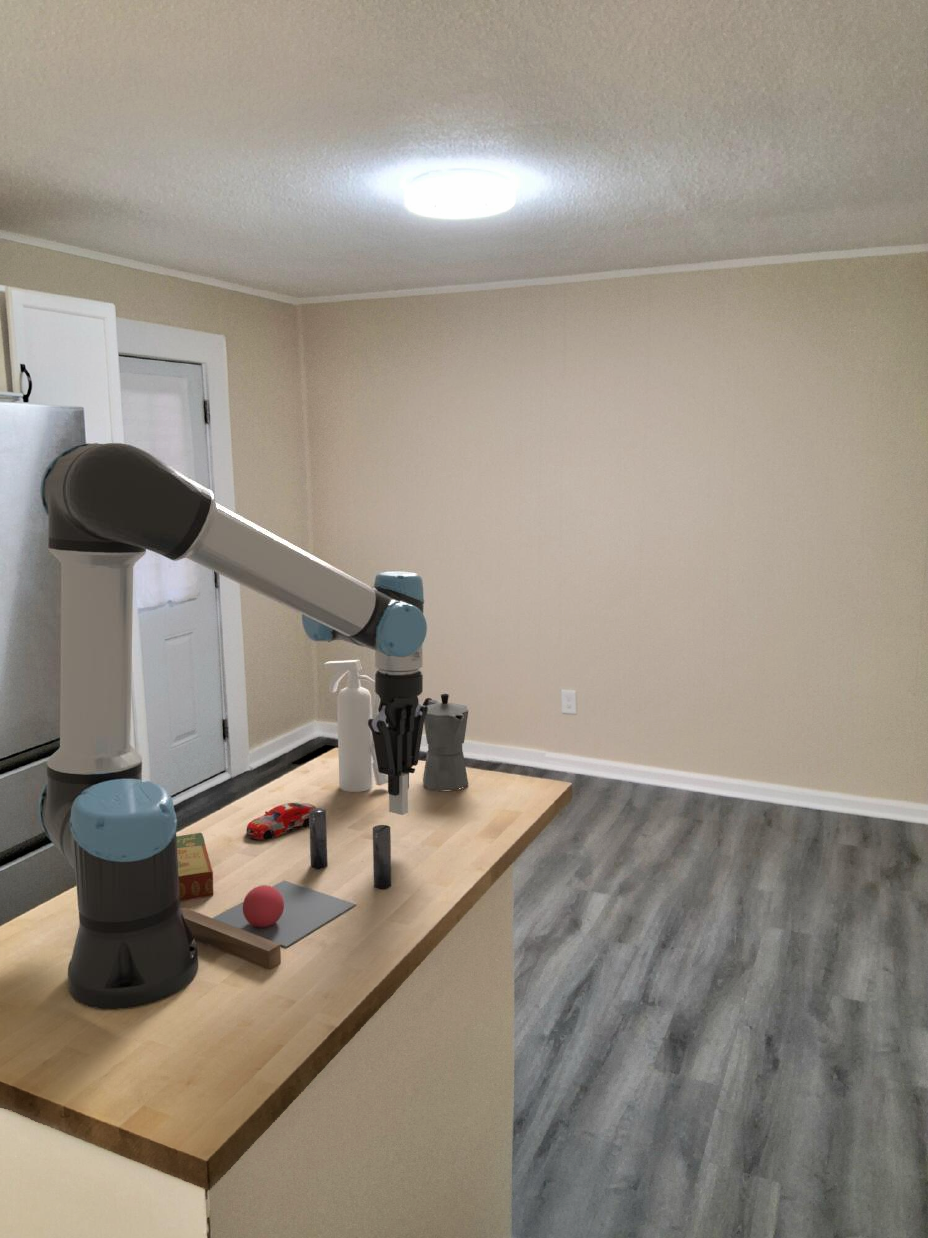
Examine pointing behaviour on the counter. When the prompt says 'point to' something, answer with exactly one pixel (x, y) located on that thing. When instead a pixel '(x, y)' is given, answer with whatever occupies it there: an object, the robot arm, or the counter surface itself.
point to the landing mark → (292, 914)
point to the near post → (382, 857)
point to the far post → (318, 838)
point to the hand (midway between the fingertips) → (398, 812)
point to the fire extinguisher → (355, 728)
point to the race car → (280, 821)
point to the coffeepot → (445, 745)
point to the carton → (193, 867)
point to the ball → (263, 906)
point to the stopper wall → (233, 940)
